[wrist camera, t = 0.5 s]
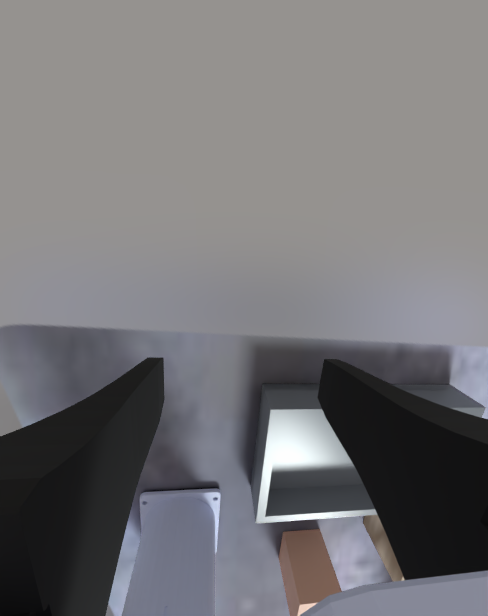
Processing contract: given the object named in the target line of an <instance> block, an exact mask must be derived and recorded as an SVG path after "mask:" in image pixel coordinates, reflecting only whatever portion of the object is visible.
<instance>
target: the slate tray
mask: <svg viewBox="0 0 488 616" xmlns="http://www.w3.org/2000/svg"><path fill="white" fill-rule="evenodd" d="M391 385H393V386H395V387H398V388H400V389H402V390H404V391H406V392H409V393H411V394H414V395H416V396H418V397H421V398H424V399H426V400H429V401H432V402H434V403H437V404H440V405H443V406H445V407H448V408H451V409H454V410H458V411H461V412H464V413H467V414H470V415H473V416H477V417H480V418H481V417H482V415H483V413H484V410H485V408H486V407H484V406H483V405H481V404H479V403H478V402H476V401H475V400H473V399H472V398H470V397H469V396H467V395H465V394H464V393H462V392H461V391H459V390H458V389H456V388H455V387H453V386H451V385H450V384H391ZM319 386H320V384H262V393H261V401H260V410H259V419H258V427H257V436H256V445H255V453H254V462H253V471H252V479H251V492H252V500H253V507H254V514H255V521H256V523H269V522H283V521H297V520H311V519H325V518H339V517H353V516H367V515H377V512H376V510H375V508H374V506H373V503H372V501H371V499H370V497H369V495H368V493H367V490H366V488H365V486H364V484H363V482H362V480H361V478H360V476H359V474H358V472H357V470H356V468H355V466H354V465H353V463H352V461H351V460H350V458H349V456H348V455H347V453H346V451H345V449H344V448H343V446H342V444H341V443H340V441H339V439H338V438H337V436H336V434H335V433H334V431H333V429H332V427H331V426H330V424H329V422H328V420H327V419H326V417H325V415H324V412H323V410H322V408H321V405H320V403H319V400H318V398H317V397H318V391H319Z"/></svg>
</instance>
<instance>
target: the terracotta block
mask: <svg viewBox="0 0 488 616" xmlns="http://www.w3.org/2000/svg"><path fill="white" fill-rule="evenodd" d="M279 561H280V566H281V572H282V577H283V582H284V587H285V592H286V597H287V602H288V607H289V612H290V616H300V615H301V614H302V613H304V612H305V611H307V610H308V609H310V608H311V607H313V606H314V605H316V604H317V603H319V602H320V601H322V600H323V599H324V598H326V597H327V596H329V595H332V594H335V593H339V592H342V591H341V588H340V585H339V583H338V580H337V577H336V574H335V571H334V568H333V566H332V563H331V560H330V557H329V554H328V551H327V549H326V546H325V543H324V540H323V537H322V534H321V532H320V529H312V530H299V531H286V532H283V536H282V542H281V547H280V553H279Z"/></svg>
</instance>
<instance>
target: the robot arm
mask: <svg viewBox="0 0 488 616" xmlns="http://www.w3.org/2000/svg"><path fill="white" fill-rule="evenodd" d="M317 398H318V400H319V403H320V405H321V408H322V410H323V412H324V415H325V417H326V419H327V420H328V422H329V424H330V426H331V427H332V429H333V431H334V433H335V434H336V436H337V438H338V439H339V441H340V443H341V444H342V446H343V448H344V449H345V451H346V453H347V455H348V456H349V458H350V460H351V461H352V463H353V465H354V466H355V468H356V470H357V472H358V474H359V476H360V478H361V480H362V482H363V484H364V486H365V488H366V490H367V493H368V495H369V497H370V499H371V501H372V503H373V506H374V508H375V510H376V512H377V515H378V517H379V519H380V521H381V524H382V526H383V528H384V530H385V533H386V535H387V538H388V540H389V543H390V545H391V547H392V550H393V552H394V555H395V557H396V560H397V562H398V565H399V567H400V569H401V572H402V575H403V577H404V581H395V582H387V583H378V584H370V585H363V586H360V587H356V588H353V589H349V590H346V591H342V592H339V593H335V594H332V595H329V596H327V597H326V598H324V599H323V600H322V601H320V602H319V603H317V604H316V605H314V606H313V607H311V608H310V609H308V610H307V611H305V612H304V613H302V614H301V615H300V616H488V419H484V418H480V417H477V416H473V415H470V414H467V413H464V412H461V411H458V410H454V409H451V408H448V407H445V406H443V405H440V404H437V403H434V402H432V401H429V400H426V399H424V398H421V397H418V396H416V395H414V394H411V393H409V392H406V391H404V390H402V389H400V388H398V387H395V386H393V385H391V384H389V383H387V382H385V381H382V380H380V379H378V378H376V377H374V376H372V375H370V374H368V373H366V372H364V371H362V370H360V369H358V368H356V367H354V366H352V365H350V364H348V363H345V362H343V361H340V360H337V359H324V363H323V369H322V375H321V380H320V386H319V391H318V397H317ZM163 403H164V367H163V358H147V359H145V360H144V361H142V362H141V363H140V364H138V365H137V366H135V367H134V368H133V369H131V370H130V371H128V372H127V373H126V374H124V375H123V376H121V377H120V378H118V379H117V380H115V381H114V382H112V383H111V384H109V385H107V386H106V387H104V388H103V389H101V390H100V391H98V392H96V393H95V394H93V395H91V396H90V397H88V398H86V399H84V400H82V401H80V402H78V403H77V404H75V405H73V406H71V407H69V408H67V409H65V410H63V411H61V412H58V413H56V414H54V415H52V416H49V417H47V418H45V419H43V420H40V421H38V422H36V423H34V424H31V425H29V426H26V427H24V428H21V429H19V430H16V431H14V432H11V433H9V434H6V435H3V436H0V616H105V615H106V610H107V606H108V601H109V597H110V593H111V588H112V584H113V580H114V575H115V571H116V567H117V563H118V558H119V554H120V550H121V546H122V542H123V538H124V534H125V530H126V526H127V521H128V517H129V514H130V510H131V506H132V502H133V498H134V494H135V490H136V487H137V484H138V481H139V477H140V474H141V471H142V469H143V466H144V463H145V460H146V458H147V455H148V452H149V449H150V446H151V444H152V441H153V438H154V435H155V432H156V430H157V427H158V424H159V421H160V417H161V412H162V408H163ZM220 496H221V492H220V490H219V489H217V488H214V489H195V490H175V491H156V492H143V493H142V494H141V495H140V499H139V501H140V519H141V539H140V543H139V547H138V551H137V555H136V559H135V563H134V567H133V572H132V576H131V580H130V584H129V588H128V592H127V596H126V600H125V604H124V608H123V612H122V616H215V553H216V551H217V539H218V525H219V510H220Z"/></svg>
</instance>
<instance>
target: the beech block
mask: <svg viewBox="0 0 488 616" xmlns="http://www.w3.org/2000/svg"><path fill="white" fill-rule="evenodd" d="M363 524H364V526H365V528H366V530H367V532H368V534H369V536H370V538H371V540H372V542H373V543H374V545H375V547H376V549H377V551H378V553H379V555H380V557H381V559H382V561H383V563H384V565H385V567H386V569H387V571H388V573H389V575H390V577H391V579H392V581H393V582H395V581H404V577H403V575H402V572H401V569H400V567H399V565H398V562H397V560H396V557H395V555H394V552H393V550H392V547H391V545H390V543H389V540H388V538H387V535H386V533H385V530H384V528H383V526H382V524H381V521H380V519H379V517H378V515H367V516H365V518H364V521H363Z"/></svg>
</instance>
